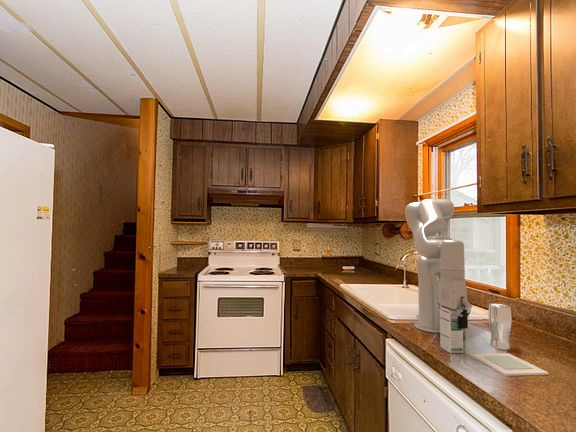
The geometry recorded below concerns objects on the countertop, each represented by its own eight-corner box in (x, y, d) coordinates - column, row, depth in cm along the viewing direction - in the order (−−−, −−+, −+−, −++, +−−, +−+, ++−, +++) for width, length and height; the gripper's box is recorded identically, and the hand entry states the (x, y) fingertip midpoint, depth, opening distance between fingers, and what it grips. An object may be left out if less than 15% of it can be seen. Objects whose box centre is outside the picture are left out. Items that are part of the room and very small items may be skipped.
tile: (470, 355, 100) (470, 353, 100) (508, 355, 102) (508, 352, 102) (505, 375, 86) (505, 373, 86) (548, 374, 88) (548, 371, 88)
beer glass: (489, 342, 114) (489, 302, 115) (512, 346, 109) (511, 305, 110) (487, 347, 108) (487, 305, 109) (511, 352, 104) (510, 308, 105)
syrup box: (450, 353, 102) (450, 310, 102) (439, 346, 107) (439, 306, 108) (465, 353, 102) (465, 310, 103) (454, 346, 108) (454, 306, 109)
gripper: (428, 272, 114) (428, 317, 113) (459, 277, 97) (459, 331, 96) (446, 272, 115) (447, 318, 113) (480, 278, 98) (481, 331, 96)
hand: (453, 324), depth 105 cm, fingers open, 9 cm apart
